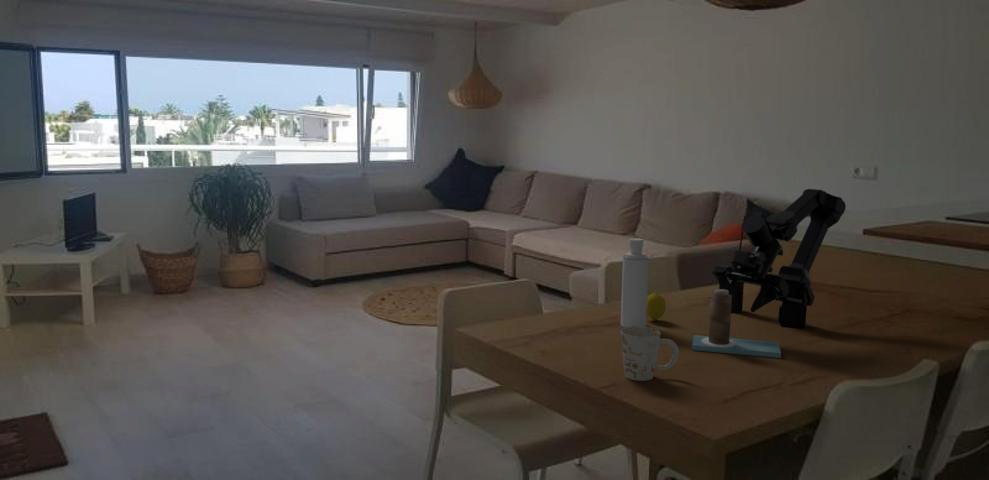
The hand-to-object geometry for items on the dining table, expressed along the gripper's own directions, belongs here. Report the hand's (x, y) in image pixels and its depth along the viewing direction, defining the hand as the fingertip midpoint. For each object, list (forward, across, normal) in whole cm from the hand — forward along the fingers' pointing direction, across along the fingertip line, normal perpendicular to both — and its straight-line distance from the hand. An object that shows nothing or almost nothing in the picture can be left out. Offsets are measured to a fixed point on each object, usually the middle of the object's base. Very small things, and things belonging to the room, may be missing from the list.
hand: (734, 307), depth 185 cm
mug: (+32, +3, -19) cm, 37 cm away
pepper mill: (+10, 0, +1) cm, 10 cm away
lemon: (+6, -26, +8) cm, 27 cm away
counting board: (+9, +3, +4) cm, 10 cm away
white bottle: (+12, -26, +1) cm, 28 cm away
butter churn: (-13, -19, +26) cm, 35 cm away
